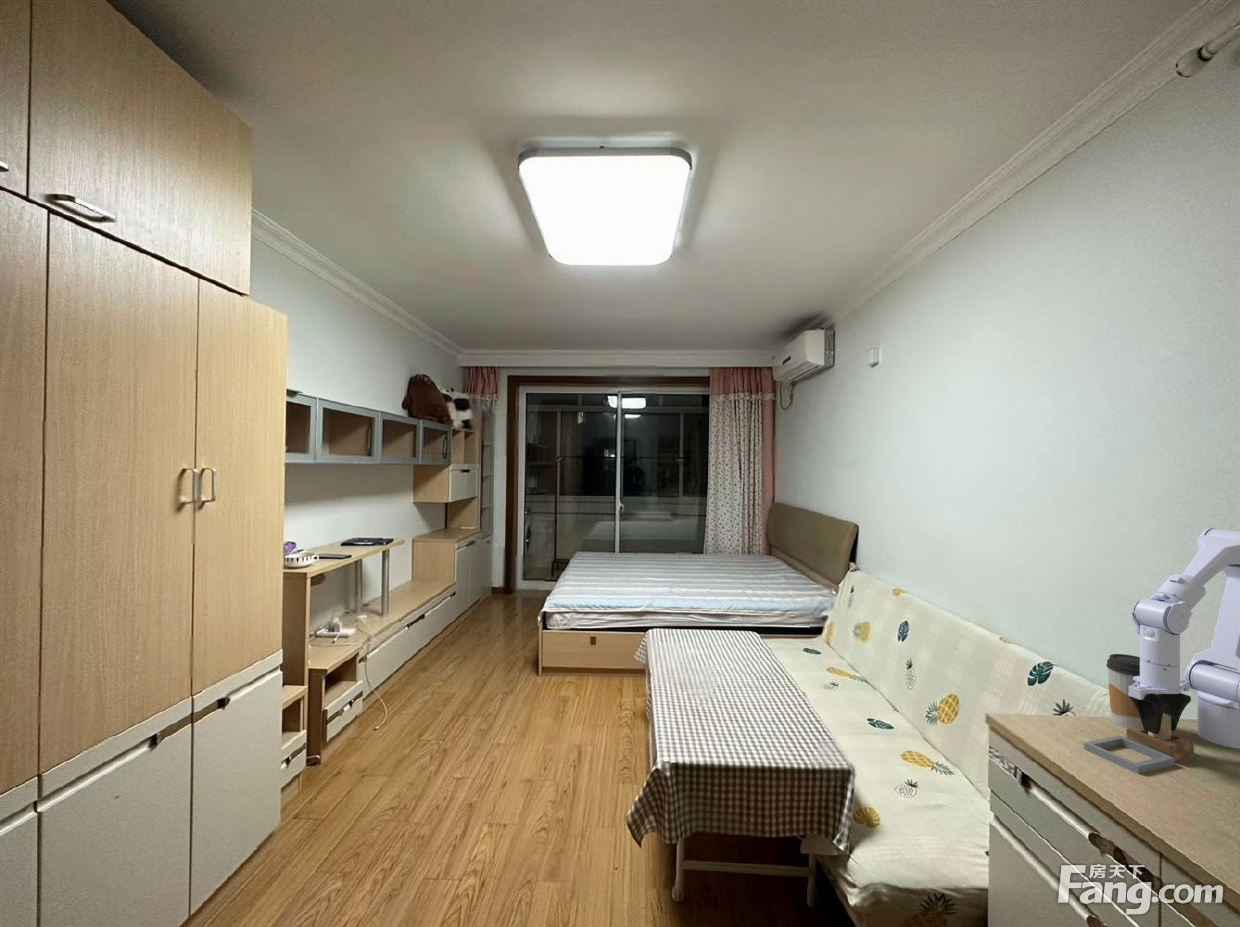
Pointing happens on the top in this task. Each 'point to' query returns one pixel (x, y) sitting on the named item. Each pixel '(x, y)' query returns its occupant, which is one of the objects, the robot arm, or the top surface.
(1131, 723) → the coffee cup
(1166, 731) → the dowel
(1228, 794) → the top surface
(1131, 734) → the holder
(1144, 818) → the top surface
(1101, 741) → the tray
